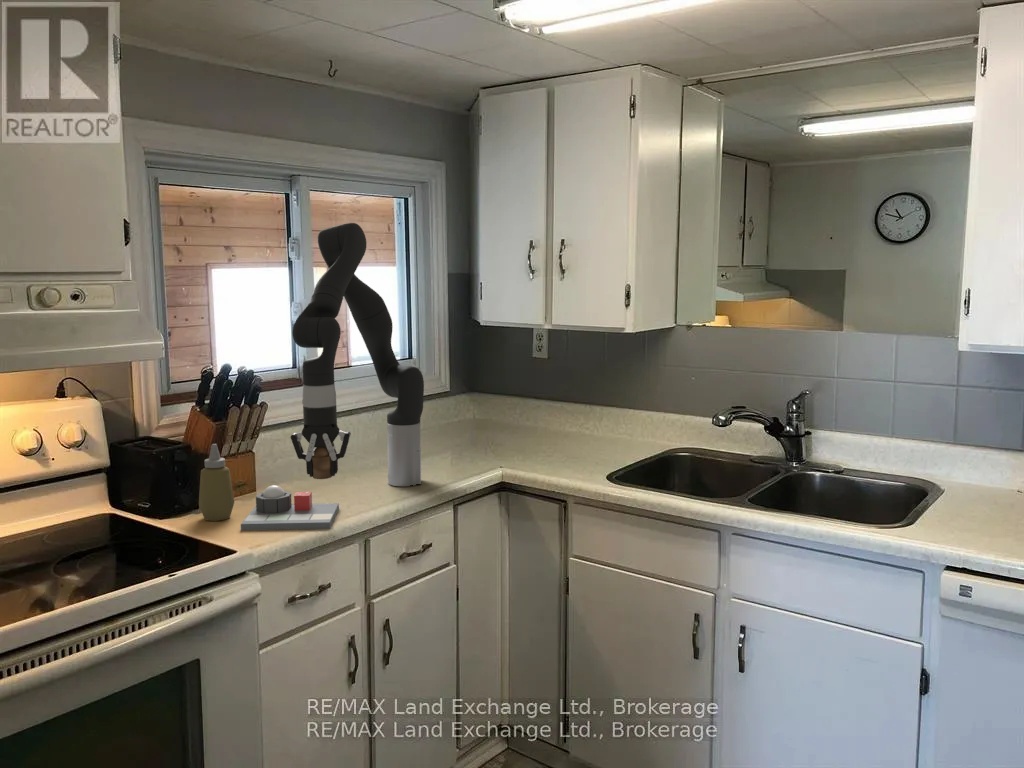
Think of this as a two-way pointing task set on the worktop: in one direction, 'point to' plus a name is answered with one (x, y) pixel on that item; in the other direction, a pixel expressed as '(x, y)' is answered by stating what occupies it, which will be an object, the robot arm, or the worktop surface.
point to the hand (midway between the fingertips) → (322, 475)
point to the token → (321, 463)
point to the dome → (273, 492)
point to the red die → (303, 500)
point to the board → (288, 515)
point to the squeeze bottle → (215, 488)
